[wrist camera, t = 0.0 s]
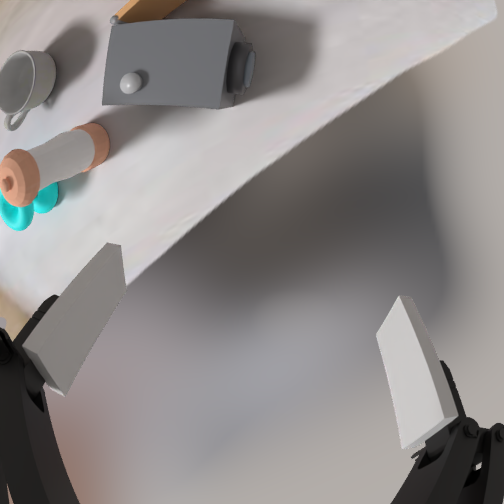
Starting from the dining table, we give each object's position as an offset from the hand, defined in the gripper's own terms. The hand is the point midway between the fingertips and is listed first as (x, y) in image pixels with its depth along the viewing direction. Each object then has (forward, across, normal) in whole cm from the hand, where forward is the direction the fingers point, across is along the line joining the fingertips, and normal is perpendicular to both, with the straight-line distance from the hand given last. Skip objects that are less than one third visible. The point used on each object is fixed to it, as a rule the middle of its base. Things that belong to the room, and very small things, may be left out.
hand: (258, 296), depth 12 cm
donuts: (+28, -41, -9) cm, 51 cm away
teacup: (+28, -41, +10) cm, 51 cm away
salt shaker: (+28, -28, -1) cm, 40 cm away
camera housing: (+28, -12, +11) cm, 33 cm away
